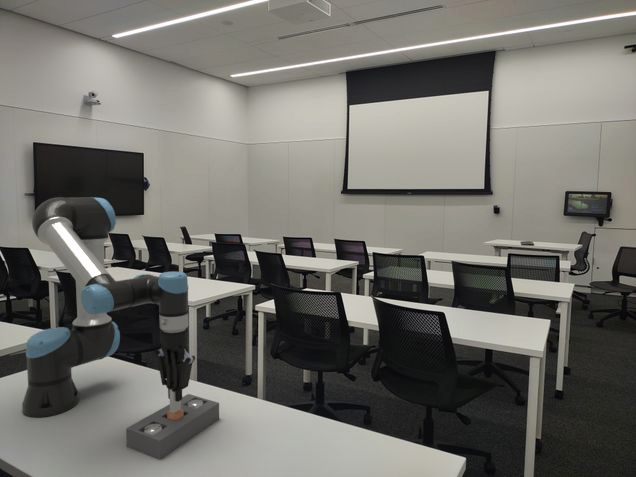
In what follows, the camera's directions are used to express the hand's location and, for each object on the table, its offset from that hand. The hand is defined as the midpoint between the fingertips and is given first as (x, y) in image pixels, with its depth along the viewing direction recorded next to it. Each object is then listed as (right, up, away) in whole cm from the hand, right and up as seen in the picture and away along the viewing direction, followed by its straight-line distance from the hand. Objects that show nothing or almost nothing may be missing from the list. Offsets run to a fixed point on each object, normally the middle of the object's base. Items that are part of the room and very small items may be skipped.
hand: (175, 410), depth 124 cm
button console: (0, -6, +1) cm, 6 cm away
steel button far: (+3, -5, +8) cm, 10 cm away
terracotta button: (0, -5, +1) cm, 5 cm away
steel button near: (-4, -6, -6) cm, 10 cm away
